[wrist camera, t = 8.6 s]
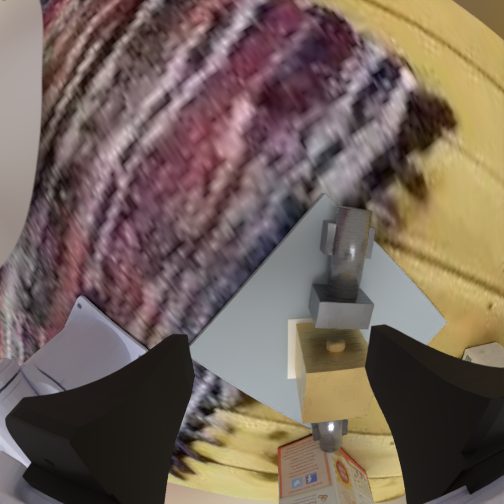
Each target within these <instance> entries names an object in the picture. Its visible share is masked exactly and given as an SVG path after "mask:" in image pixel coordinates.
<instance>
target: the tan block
mask: <svg viewBox="0 0 504 504" xmlns="http://www.w3.org/2000/svg"><path fill="white" fill-rule="evenodd" d="M367 351H368V343H367V342H366V340H365V338H364V336H363V335H362V333H361V331H360V330H359V329H326V328H315V325H314V323H303V324H296V346H295V375H296V382H297V389H298V395H299V402H300V409H301V416H302V423H303V424H308V423H319V422H328V421H336V420H343V419H350V418H356V417H362V416H368V412H369V409H370V405H371V401H372V397H373V391H372V389H371V387H370V384H369V380H368V377H367V374H366V370H365V362H366V357H367Z"/></svg>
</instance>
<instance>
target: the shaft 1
mask: <svg viewBox="0 0 504 504" xmlns="http://www.w3.org/2000/svg"><path fill="white" fill-rule="evenodd" d="M371 216H372V211H370V210H366V209H361V208H354V207H347V206H338V209H337V217H336V221H330V220H323V226H322V234H321V242H320V250H321V251H322V252H323V254H324V255H331V262H330V268H329V275H328V281H327V285H326V284H312V286H311V292H310V299H309V305H308V308H309V311H310V314H311V317H312V319H313V322H314V325H315V328H326V329H368V328H369V324H370V320H371V316H372V312H373V308H374V303H373V302H372V301H371V300H370V298H369V297H368V296H367V295H366V294H365V293H364V291H363V290H362V289H361V288H360V284H361V278H362V273H363V268H364V262H365V258H366V259H371V255H372V249H373V243H374V236H375V230H376V229H375V228H373V227H371V226H370V224H371Z"/></svg>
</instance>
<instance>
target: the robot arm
mask: <svg viewBox="0 0 504 504" xmlns="http://www.w3.org/2000/svg"><path fill="white" fill-rule="evenodd" d="M80 304H81V306H82V307H81V306H80ZM140 355H141V356H140ZM365 370H366V374H367V377H368V380H369V384H370V387H371V389H372V391H373V393H374V395H375V398H376V400H377V402H378V404H379V406H380V408H381V410H382V412H383V414H384V417H385V419H386V421H387V423H388V425H389V428H390V430H391V433H392V435H393V439H394V442H395V446H396V449H397V453H398V457H399V461H400V465H401V470H402V475H403V480H404V486H405V493H406V502H407V504H504V368H500V367H492V366H486V365H481V364H477V363H472V362H469V361H465V360H462V359H459V358H456V357H453V356H450V355H448V354H445V353H443V352H440V351H438V350H436V349H434V348H431V347H429V346H427V345H425V344H423V343H421V342H419V341H417V340H415V339H414V338H412V337H410V336H408V335H406V334H404V333H402V332H400V331H399V330H397V329H395V328H393V327H390V326H388V325H386V324H383V325H375V326H371V331H370V338H369V344H368V351H367V357H366V362H365ZM194 377H195V374H194V369H193V364H192V359H191V353H190V348H189V342H188V336H187V335H182V334H172V335H170V336H169V337H167V338H166V339H164V340H163V341H161V342H160V343H159V344H157V345H156V346H155V347H153V348H152V349H150V350H148V349H147V348H145V347H144V346H143V345H141V344H140V343H139V342H137V341H136V340H135V339H134V338H132V337H131V336H130V335H129V334H127V333H126V332H125V331H124V330H122V329H121V328H120V327H119V326H118V325H116V324H115V323H114V322H113V321H112V320H110V319H109V318H108V317H107V316H106V315H105V314H103V313H102V312H101V311H100V310H99V309H98V308H97V307H96V306H94V305H93V304H92V303H91V302H90V301H89V300H88V299H87V298H86V297H84V296H79V297H78V298H77V300H76V302H75V305H74V307H73V309H72V311H71V313H70V315H69V317H68V320H67V322H66V324H65V326H64V329H62V330H61V331H60V332H59V333H58V334H57V335H55V336H54V337H53V338H52V339H51V340H50V341H48V342H47V343H46V344H45V345H44V346H43V347H42V348H40V349H39V350H38V351H37V352H36V353H35V354H34V355H33V356H32V357H30V358H29V359H28V360H27V361H26V362H25V363H24V364H23V365H21V366H20V365H19V364H18V362H17V361H16V360H15V359H12V360H11V359H9V358H3V359H1V360H0V504H164V502H165V494H166V486H167V479H168V473H169V468H170V462H171V457H172V452H173V448H174V444H175V440H176V437H177V434H178V431H179V429H180V426H181V423H182V420H183V417H184V415H185V412H186V409H187V406H188V403H189V400H190V397H191V393H192V388H193V383H194Z"/></svg>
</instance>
